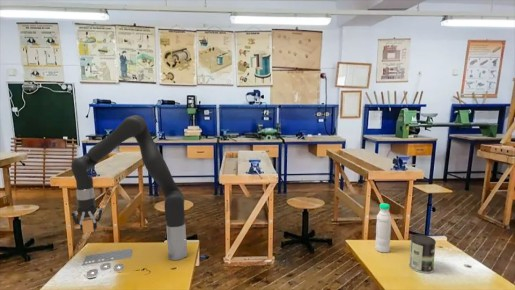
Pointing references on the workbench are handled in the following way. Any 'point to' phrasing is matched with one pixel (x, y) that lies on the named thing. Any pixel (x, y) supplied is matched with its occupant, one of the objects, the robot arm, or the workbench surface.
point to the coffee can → (422, 253)
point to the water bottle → (383, 229)
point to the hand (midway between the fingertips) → (89, 230)
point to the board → (107, 256)
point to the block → (87, 225)
